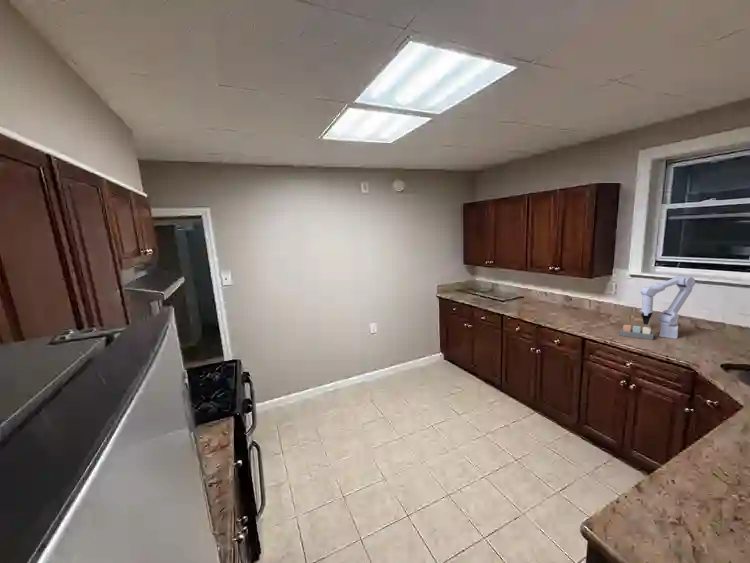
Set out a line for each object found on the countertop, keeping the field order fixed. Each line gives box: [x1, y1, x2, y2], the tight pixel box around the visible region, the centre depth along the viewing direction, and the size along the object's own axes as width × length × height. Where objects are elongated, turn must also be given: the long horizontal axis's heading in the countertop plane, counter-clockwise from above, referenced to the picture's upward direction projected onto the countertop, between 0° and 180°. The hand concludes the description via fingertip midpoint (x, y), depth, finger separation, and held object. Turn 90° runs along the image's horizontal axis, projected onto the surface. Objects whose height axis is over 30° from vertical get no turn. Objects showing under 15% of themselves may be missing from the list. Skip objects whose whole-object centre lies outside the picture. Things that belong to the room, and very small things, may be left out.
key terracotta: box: [622, 324, 632, 332], centre depth 239 cm, size 4×4×4 cm
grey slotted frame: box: [619, 327, 655, 341], centre depth 236 cm, size 19×9×3 cm, turn 47°
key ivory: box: [642, 326, 652, 334], centre depth 232 cm, size 4×4×4 cm
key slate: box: [632, 325, 642, 333], centre depth 235 cm, size 4×4×4 cm
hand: (646, 323), depth 231 cm, fingers open, 5 cm apart
